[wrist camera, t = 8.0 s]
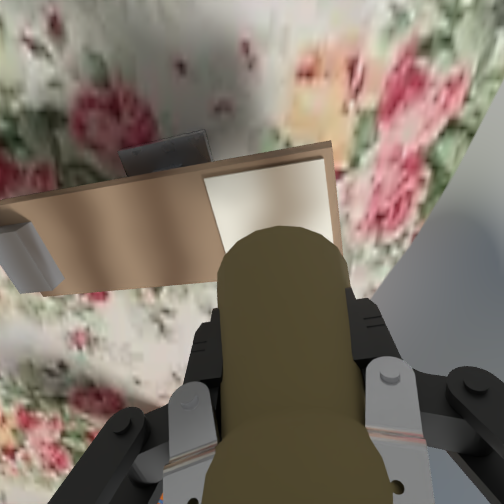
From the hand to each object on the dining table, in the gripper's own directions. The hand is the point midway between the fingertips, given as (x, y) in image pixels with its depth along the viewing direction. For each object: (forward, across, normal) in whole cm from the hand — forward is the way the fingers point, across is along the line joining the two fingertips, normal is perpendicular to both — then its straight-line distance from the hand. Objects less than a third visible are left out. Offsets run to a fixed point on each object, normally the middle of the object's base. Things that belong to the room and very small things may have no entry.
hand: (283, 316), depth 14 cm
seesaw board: (+11, +8, 0) cm, 14 cm away
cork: (+2, 0, 0) cm, 2 cm away
